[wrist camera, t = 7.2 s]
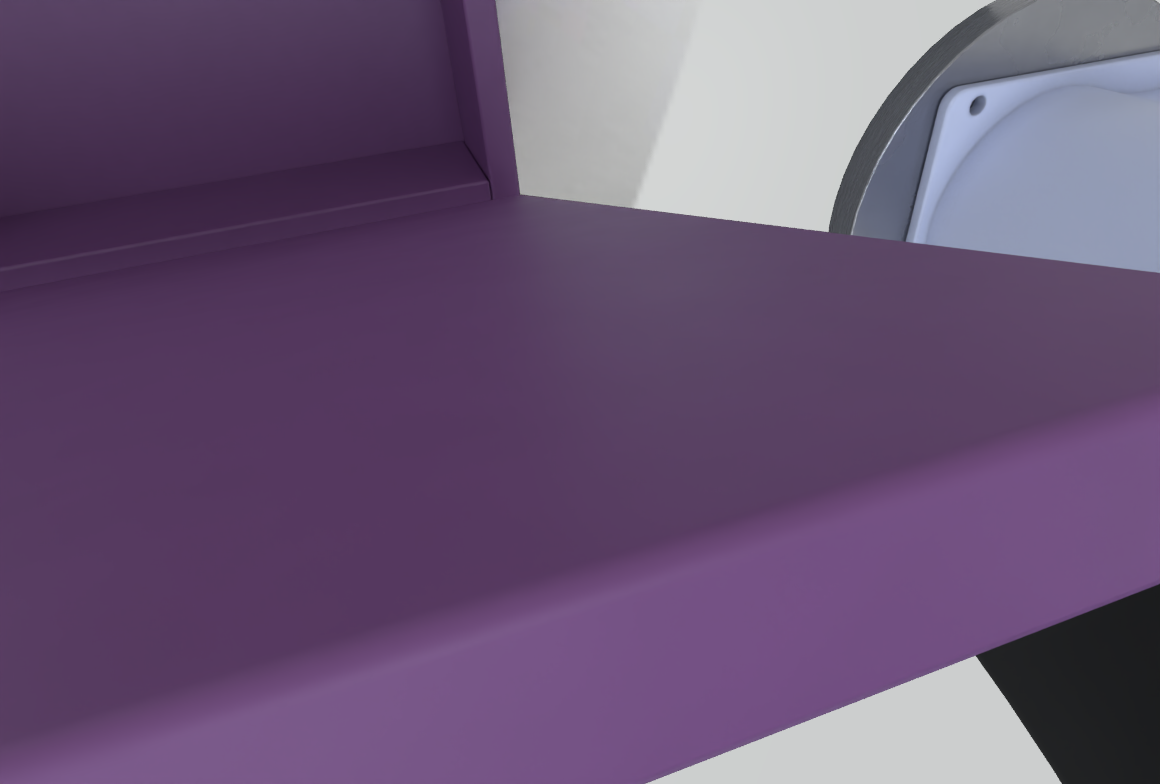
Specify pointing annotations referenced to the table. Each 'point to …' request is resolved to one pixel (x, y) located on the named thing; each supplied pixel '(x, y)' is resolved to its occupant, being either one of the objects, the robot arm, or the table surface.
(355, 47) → the purple box
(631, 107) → the table surface
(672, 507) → the box cover
